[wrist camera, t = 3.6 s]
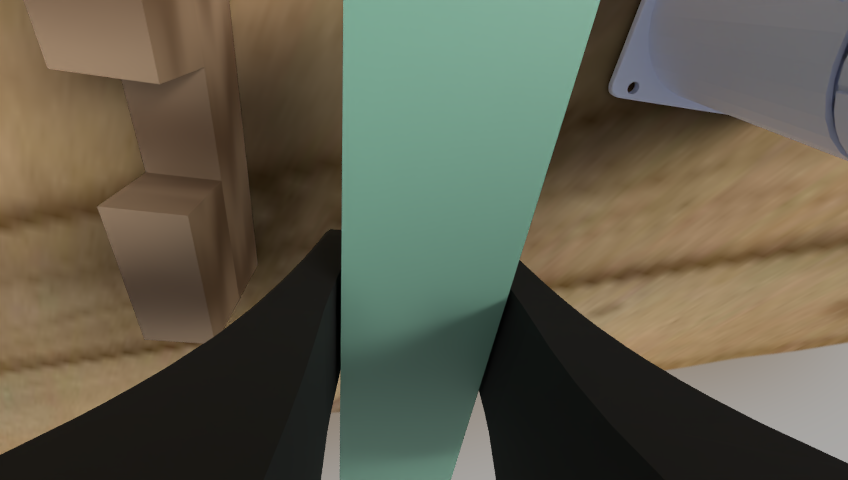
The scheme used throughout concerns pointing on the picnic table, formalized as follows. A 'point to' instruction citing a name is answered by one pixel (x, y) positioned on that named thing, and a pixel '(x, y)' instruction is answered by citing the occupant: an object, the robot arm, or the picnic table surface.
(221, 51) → the walnut notched bar
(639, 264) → the picnic table surface
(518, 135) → the green notched bar
